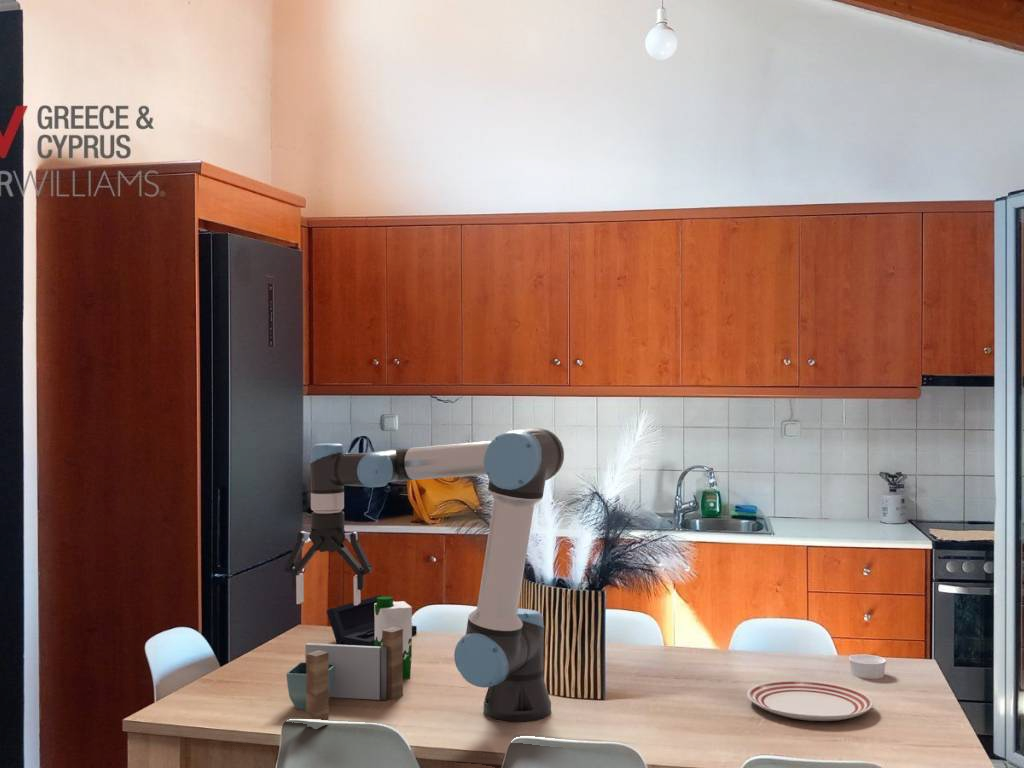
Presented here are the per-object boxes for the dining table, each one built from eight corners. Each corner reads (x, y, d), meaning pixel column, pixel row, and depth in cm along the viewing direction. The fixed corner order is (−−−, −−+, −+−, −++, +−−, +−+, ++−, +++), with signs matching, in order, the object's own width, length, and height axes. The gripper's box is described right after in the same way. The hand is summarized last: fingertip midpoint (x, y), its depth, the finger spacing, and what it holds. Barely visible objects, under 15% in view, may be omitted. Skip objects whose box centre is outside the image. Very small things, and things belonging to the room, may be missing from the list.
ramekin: (850, 679, 250) (850, 662, 250) (847, 669, 258) (847, 652, 258) (888, 682, 248) (888, 664, 248) (883, 672, 256) (883, 655, 256)
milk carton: (371, 673, 254) (371, 594, 254) (405, 669, 257) (405, 591, 257) (379, 683, 246) (379, 601, 246) (415, 679, 249) (415, 599, 249)
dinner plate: (723, 698, 235) (723, 684, 235) (820, 686, 245) (820, 672, 245) (795, 738, 210) (795, 722, 210) (900, 722, 219) (900, 707, 219)
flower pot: (322, 715, 222) (322, 675, 222) (285, 713, 224) (285, 673, 224) (336, 702, 231) (336, 663, 231) (299, 700, 232) (300, 661, 232)
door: (389, 696, 234) (389, 644, 234) (385, 700, 231) (385, 648, 231) (310, 691, 237) (310, 641, 237) (305, 695, 234) (305, 644, 234)
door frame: (402, 696, 235) (402, 628, 235) (316, 731, 212) (316, 656, 212) (392, 694, 237) (393, 627, 237) (306, 728, 214) (306, 653, 214)
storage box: (369, 650, 276) (369, 614, 276) (326, 642, 285) (326, 607, 285) (416, 634, 293) (416, 600, 293) (374, 627, 302) (374, 594, 302)
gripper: (384, 509, 231) (385, 601, 231) (281, 508, 235) (282, 598, 235) (375, 513, 224) (376, 608, 224) (269, 512, 227) (270, 605, 227)
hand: (328, 603), depth 229 cm, fingers open, 13 cm apart
